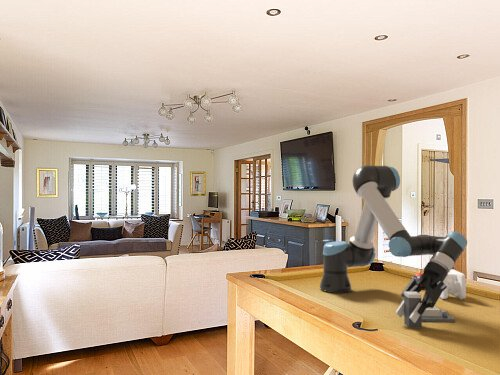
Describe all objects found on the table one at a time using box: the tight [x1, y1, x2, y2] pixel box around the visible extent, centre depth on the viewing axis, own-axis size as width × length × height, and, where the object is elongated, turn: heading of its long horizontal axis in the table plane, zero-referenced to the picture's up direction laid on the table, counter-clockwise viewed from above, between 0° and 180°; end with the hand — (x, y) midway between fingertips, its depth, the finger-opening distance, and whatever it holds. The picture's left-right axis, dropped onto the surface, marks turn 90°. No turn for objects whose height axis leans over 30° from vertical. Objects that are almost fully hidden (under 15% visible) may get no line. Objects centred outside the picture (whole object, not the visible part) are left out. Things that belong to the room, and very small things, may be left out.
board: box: [402, 305, 456, 323], centre depth 147 cm, size 16×14×4 cm
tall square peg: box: [403, 291, 423, 329], centre depth 136 cm, size 4×4×12 cm
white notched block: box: [439, 268, 467, 300], centre depth 176 cm, size 15×11×12 cm
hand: (405, 317), depth 135 cm, fingers closed on tall square peg, 6 cm apart
